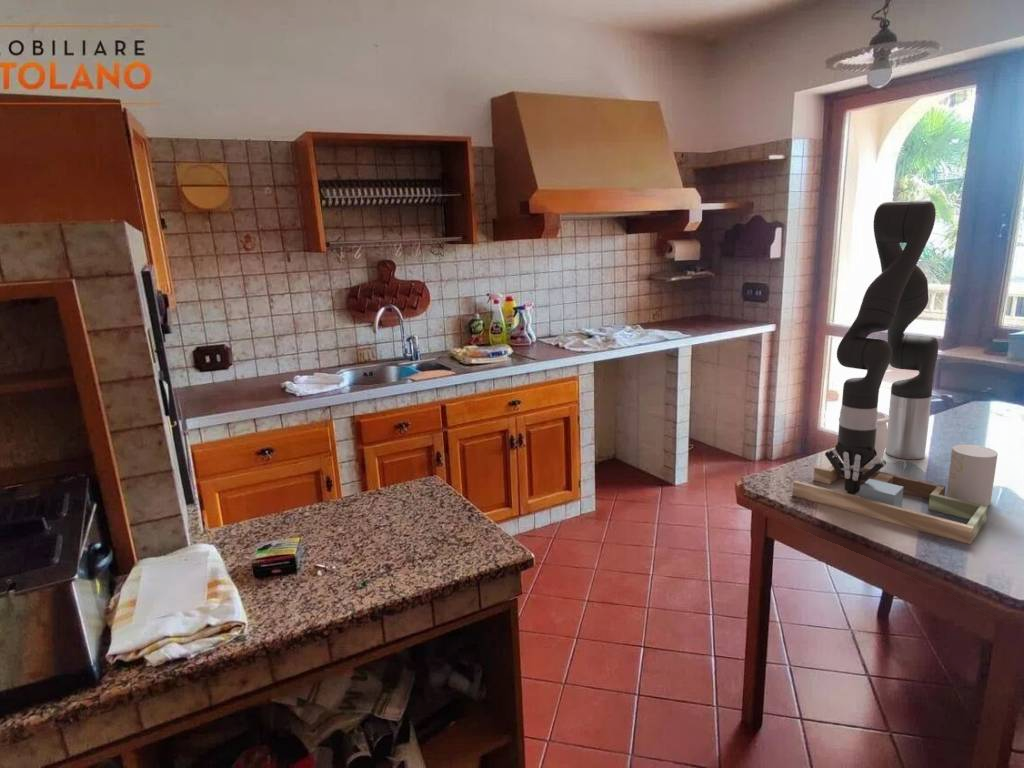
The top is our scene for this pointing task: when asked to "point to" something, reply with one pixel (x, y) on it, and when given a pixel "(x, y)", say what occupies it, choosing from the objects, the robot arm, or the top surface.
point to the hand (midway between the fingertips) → (851, 493)
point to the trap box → (898, 514)
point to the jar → (880, 437)
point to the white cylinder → (972, 473)
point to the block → (882, 492)
